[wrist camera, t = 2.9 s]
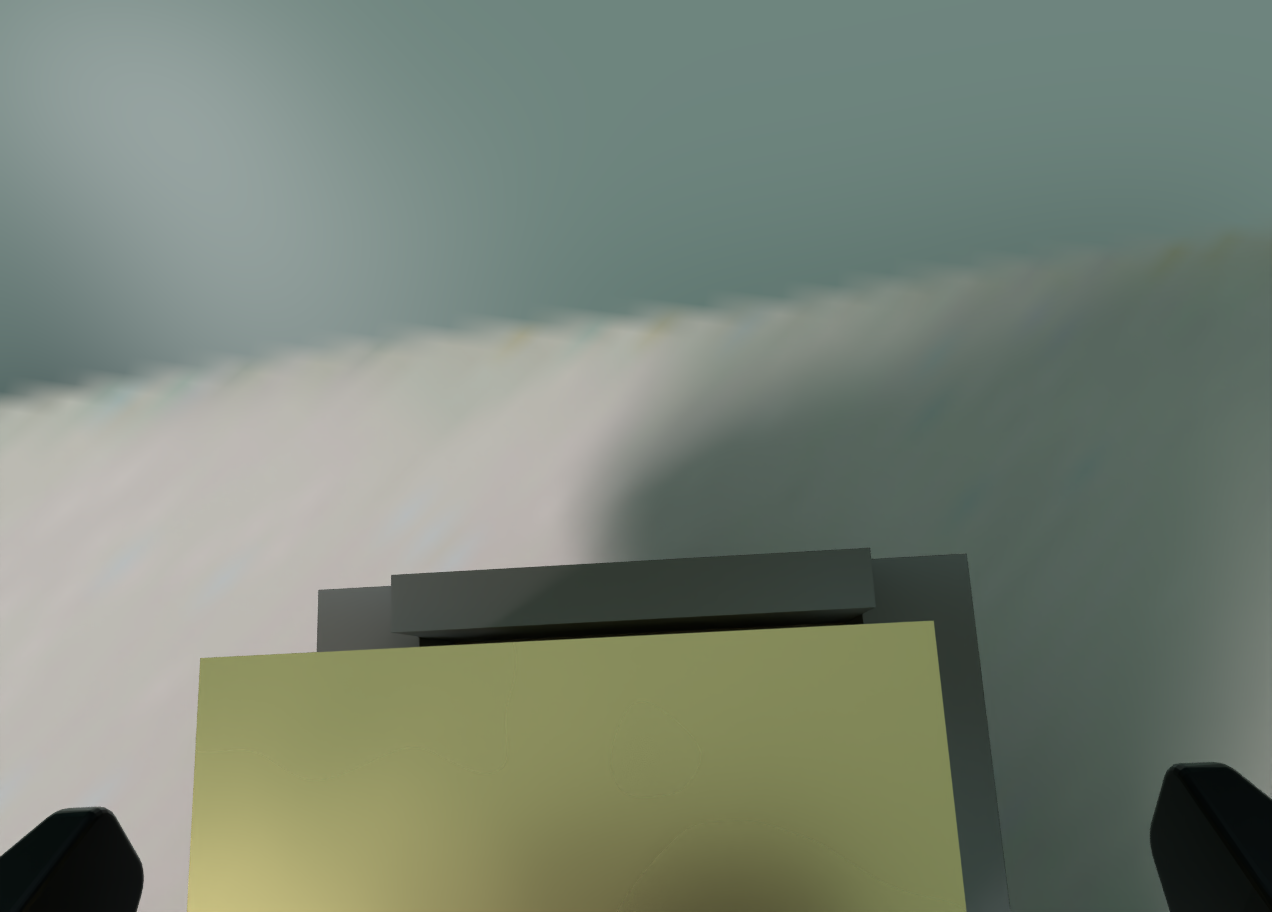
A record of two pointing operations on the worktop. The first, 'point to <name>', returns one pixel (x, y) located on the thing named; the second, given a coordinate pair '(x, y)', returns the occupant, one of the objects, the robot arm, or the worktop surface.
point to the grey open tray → (713, 603)
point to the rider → (580, 776)
